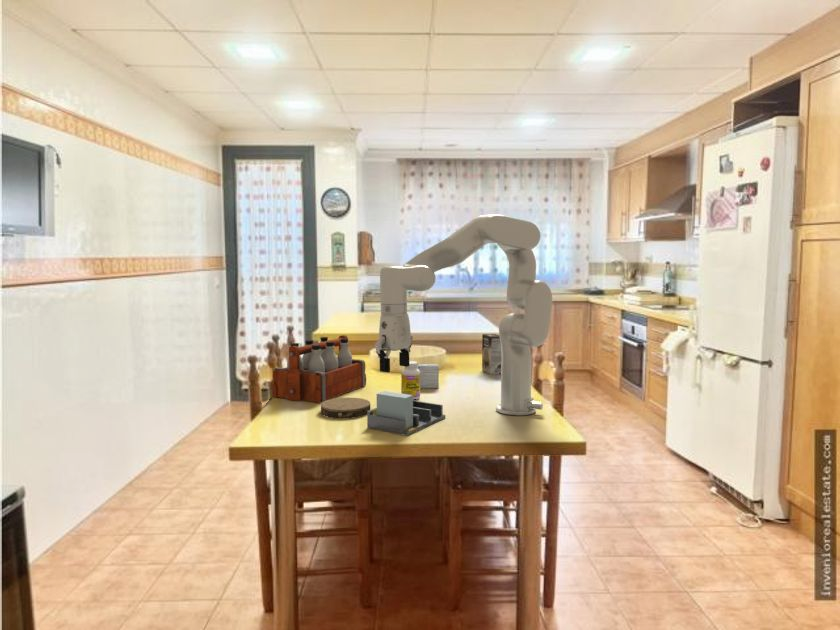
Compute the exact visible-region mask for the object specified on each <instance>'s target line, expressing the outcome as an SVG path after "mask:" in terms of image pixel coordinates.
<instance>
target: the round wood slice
mask: <svg viewBox="0 0 840 630" xmlns="http://www.w3.org/2000/svg"><path fill="white" fill-rule="evenodd" d="M369 410H371V401H370V400H368V399H364V398H360V397H338V398H337V397H334V398H330V399H328V400H325V401H324V402H322V403H320V414H321V415H322V416H323V415H325V416H324V417H326V416H328V417H327V418H330V417H333V418H332V419H353V418H352V417H355V418H360V417H359V416H361V417H363V415H365V416H367V415H366V414H367V411H369Z"/></svg>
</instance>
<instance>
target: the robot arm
mask: <svg viewBox="0 0 840 630" xmlns="http://www.w3.org/2000/svg"><path fill="white" fill-rule="evenodd" d="M540 241H541V232H540V229H539V227H538V226H537V225H536V224H535V223H533V222H531V221H528V220H524V219H520V218H514V217H512V216H507V215H502V214H497V213H496V214H495V213H494V214H493V213H492V214H484V215H478V216H476V217H473V218H472V219H471V220H469V221H468V222H467V223H465V224H464V225H463V226H461V227H460V228H459V229H456V230H455V232H453V233H451V234H450V235H449V236H448V237H446V238H445V239H443V240H442V241H441V240H440V242H438V243H435V244H434V245H432V246H431V247H429V248H426V249H424V250H423V251H421V252H420V253H418V254H416V255H415V256H413V257H412V258H411V259H409V260H408V261H407V262H405V263H404V264H403V265H402V266H399V265H398V266H397V265H394V266H393V265H391V266H390V265H389V266H383V267H381V268H380V271H379V286H380V288H379V289H380V292H379V293H380V295H379V296H380V298H379V299H380V319H379V328H378V340H377V341H376V342H375V343H374V348H375V352H376V354H377V357H378V358H379V372H380V373H381V372H382V373H390V372H391V359H390V354H391V351H393V352H397V351H400V352H399V353H398V355H399V356H398V358H399V360H398V361H399V366H400V367H405V366H407V367H408V366H409V361H410V353H411V348H412V345H413V344H412V342H413V338H414V337H413V335H411V334H412V333H411V331H412V330H411V324H410V318H409V313H408V296H407V295H408V291H414V292H426V291H429V290H430V289H431V288H433V286H434V285H435V283H436V274H435V273H436V272H438V271H441V270H444V269H447V268H451V267H454V266H457V265H460V264H462V263H463V262H465V261H466V260H467V259H468V258H470V256H472V255H474V254H475V253H476V252H478V251H479V250H480V249H481V248H484V247H485V245H487V244H497V246H498V247H499V248H500V249H501V250H502V251H503V252H504V254H505V255H506V258H507V261H508V278H507V288H506V302H507V304H508V305H509V306H510V307H511V308H514V309H518V310H522V311H523V313H520V312H519V313H518V312H512V313H509V314H508V313H507V314H505V315H504V317H502V318H501V320H500V322H499V326H498V335H499V336H500V341H501V352H502V363H501V374H500V377H501V378H500V382H501V383H500V403H499V404H497V405H495V410H496V412H498V413H500V414H504V415H508V416H528V415H532V414H535V413H536V410H540V411H542V410H543V406H544V405H543V402H542V401H540V402H539V401H536V400H535V398H534V396H532V361H533V360H532V351H531V347H533V348H537V347H540V346H542V345H543V344H545V342H546V340H547V339H548V336H549V333H550V326H551V316H552V308H553V307H552V306H553V293H552V290H551V288H550V286H549V285H548V284H547V283H546V282H544V281H542V280H538V279H536V277H537V260H536V259H537V258H536V257H535V254H534V252H533V249H535V248H536V247H537V246H538V245H539V243H540Z"/></svg>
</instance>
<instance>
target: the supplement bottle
mask: <svg viewBox="0 0 840 630" xmlns="http://www.w3.org/2000/svg"><path fill="white" fill-rule="evenodd" d="M400 373H401V376H400V377H401V380H400V381H401V384H400V385H401V388H400V389H401V392H400V393H401V394H408V395H413V400H414V399H416V400H419V399H420V398H421V388H420V370H418V361H415V360H414V361H413V360H409V366H408V367H407V366H404V368H403V369H402V370H401V372H400Z"/></svg>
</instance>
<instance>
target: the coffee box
mask: <svg viewBox="0 0 840 630" xmlns="http://www.w3.org/2000/svg"><path fill="white" fill-rule="evenodd" d="M481 338H482V339H481V340H482V343H481V344H482V345H481V346H482V348H481V349H482V350H481V351H482V352H481V353H482V355H481V365H482V366H481V367H482V368H481V369H482V370H481V371H483V372H486V373H487V374H489V375H498V374H499V373H501V363H502V352H501V341H500V336H499V334H497V333H482V337H481ZM499 375H500V374H499Z"/></svg>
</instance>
